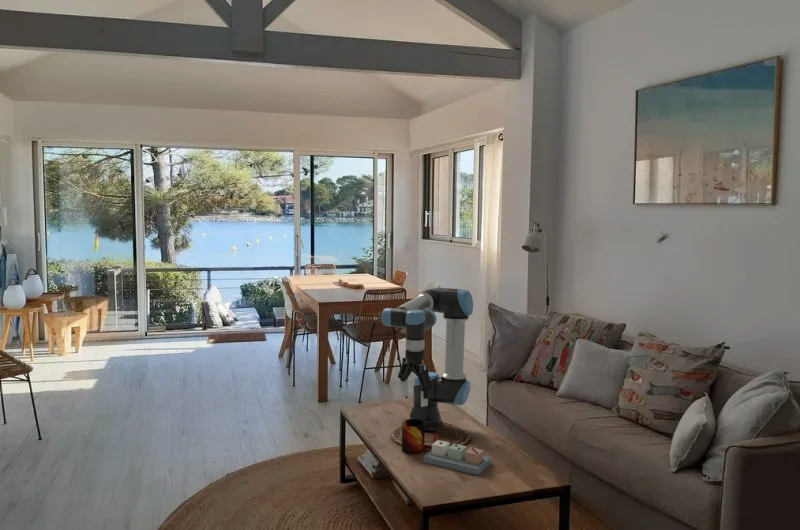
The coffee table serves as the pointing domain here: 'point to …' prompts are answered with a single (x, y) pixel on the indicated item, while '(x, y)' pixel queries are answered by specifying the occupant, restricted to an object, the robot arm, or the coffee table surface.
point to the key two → (457, 452)
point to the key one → (440, 448)
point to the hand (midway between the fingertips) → (414, 401)
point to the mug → (415, 436)
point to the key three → (474, 456)
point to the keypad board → (457, 463)
